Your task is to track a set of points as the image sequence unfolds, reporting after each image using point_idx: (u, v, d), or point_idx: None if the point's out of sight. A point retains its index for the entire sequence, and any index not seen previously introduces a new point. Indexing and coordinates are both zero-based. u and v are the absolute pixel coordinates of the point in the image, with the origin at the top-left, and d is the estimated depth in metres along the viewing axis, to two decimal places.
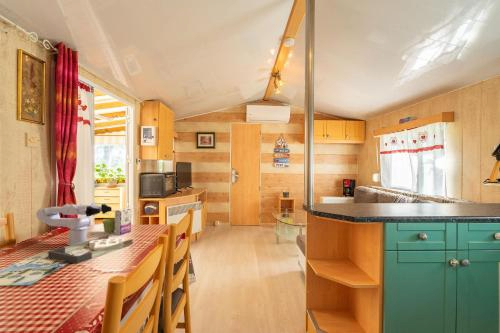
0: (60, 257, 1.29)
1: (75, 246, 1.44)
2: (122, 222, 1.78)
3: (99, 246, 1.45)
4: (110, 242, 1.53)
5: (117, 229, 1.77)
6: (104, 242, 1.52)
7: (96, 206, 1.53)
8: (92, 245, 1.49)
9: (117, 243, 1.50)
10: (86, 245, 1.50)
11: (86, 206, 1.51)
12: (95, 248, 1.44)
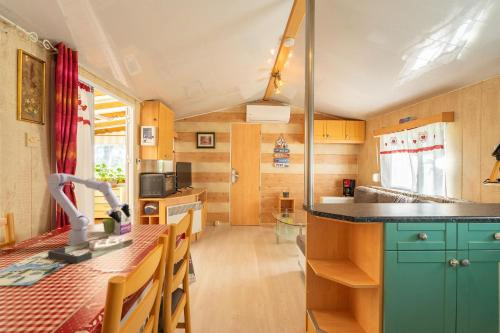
0: (60, 257, 1.29)
1: (75, 246, 1.44)
2: (122, 222, 1.78)
3: (99, 246, 1.45)
4: (110, 242, 1.53)
5: (117, 229, 1.77)
6: (104, 242, 1.52)
7: (121, 205, 1.60)
8: (92, 245, 1.48)
9: (117, 243, 1.50)
10: (86, 245, 1.50)
11: (114, 202, 1.56)
12: (95, 248, 1.44)
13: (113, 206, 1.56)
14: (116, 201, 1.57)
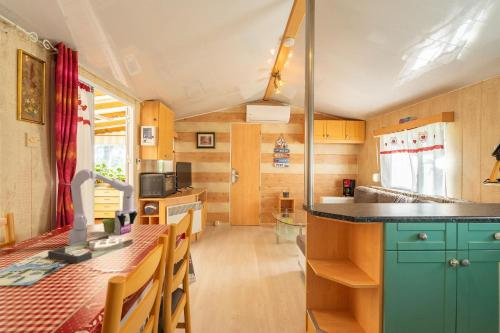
0: (60, 257, 1.29)
1: (75, 246, 1.44)
2: None
3: (99, 246, 1.45)
4: (110, 242, 1.53)
5: (117, 229, 1.77)
6: (104, 242, 1.52)
7: (131, 211, 1.67)
8: (92, 245, 1.48)
9: (117, 243, 1.50)
10: (86, 245, 1.50)
11: (128, 206, 1.64)
12: (95, 248, 1.44)
13: (125, 209, 1.63)
14: (130, 206, 1.65)
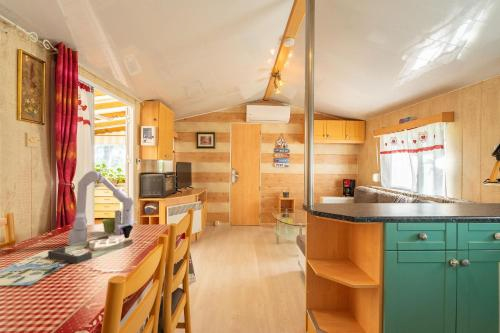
0: (60, 257, 1.29)
1: (75, 246, 1.44)
2: None
3: (99, 246, 1.45)
4: (110, 242, 1.53)
5: (117, 229, 1.77)
6: (104, 242, 1.52)
7: None
8: (92, 245, 1.48)
9: (117, 243, 1.50)
10: (86, 245, 1.50)
11: (127, 219, 1.64)
12: (95, 248, 1.44)
13: (125, 222, 1.63)
14: (129, 219, 1.65)
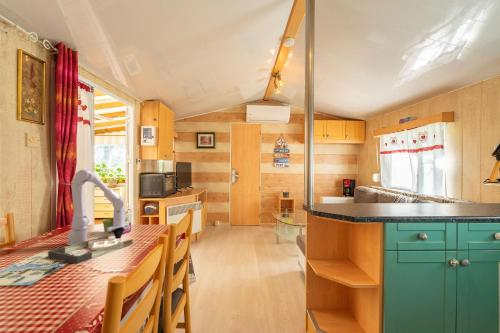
0: (60, 257, 1.29)
1: (75, 246, 1.44)
2: None
3: (97, 246, 1.44)
4: (109, 242, 1.52)
5: None
6: (103, 242, 1.51)
7: None
8: (91, 245, 1.48)
9: (115, 243, 1.49)
10: (86, 245, 1.50)
11: (119, 221, 1.57)
12: (93, 248, 1.43)
13: (116, 224, 1.57)
14: (121, 221, 1.58)
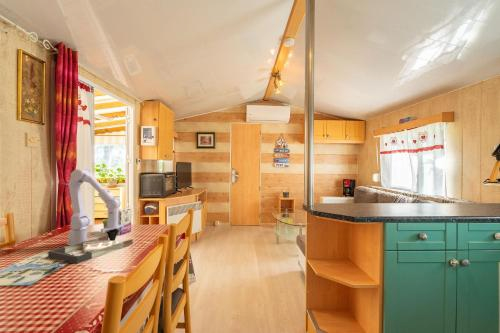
0: (60, 257, 1.29)
1: (75, 246, 1.44)
2: (122, 222, 1.78)
3: (90, 248, 1.41)
4: (103, 244, 1.49)
5: (117, 229, 1.77)
6: (97, 244, 1.48)
7: None
8: (85, 247, 1.45)
9: None
10: None
11: (113, 222, 1.54)
12: (86, 250, 1.40)
13: (110, 226, 1.53)
14: (115, 222, 1.54)
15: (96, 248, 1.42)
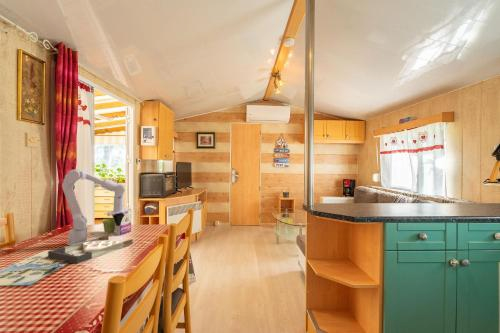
0: (60, 257, 1.29)
1: (75, 246, 1.44)
2: (122, 222, 1.78)
3: (90, 248, 1.41)
4: (103, 244, 1.49)
5: (117, 229, 1.77)
6: (97, 244, 1.48)
7: None
8: (85, 247, 1.45)
9: None
10: None
11: (119, 206, 1.62)
12: (86, 250, 1.40)
13: (116, 210, 1.61)
14: (121, 207, 1.63)
15: (96, 248, 1.42)
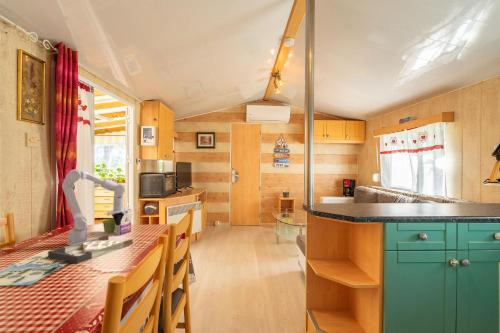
0: (60, 257, 1.29)
1: (75, 246, 1.44)
2: (122, 222, 1.78)
3: (90, 248, 1.41)
4: (103, 244, 1.49)
5: (117, 229, 1.77)
6: (97, 244, 1.48)
7: (122, 211, 1.66)
8: (85, 247, 1.45)
9: None
10: None
11: (118, 206, 1.63)
12: (86, 250, 1.40)
13: (116, 209, 1.63)
14: (121, 206, 1.64)
15: (96, 248, 1.42)
